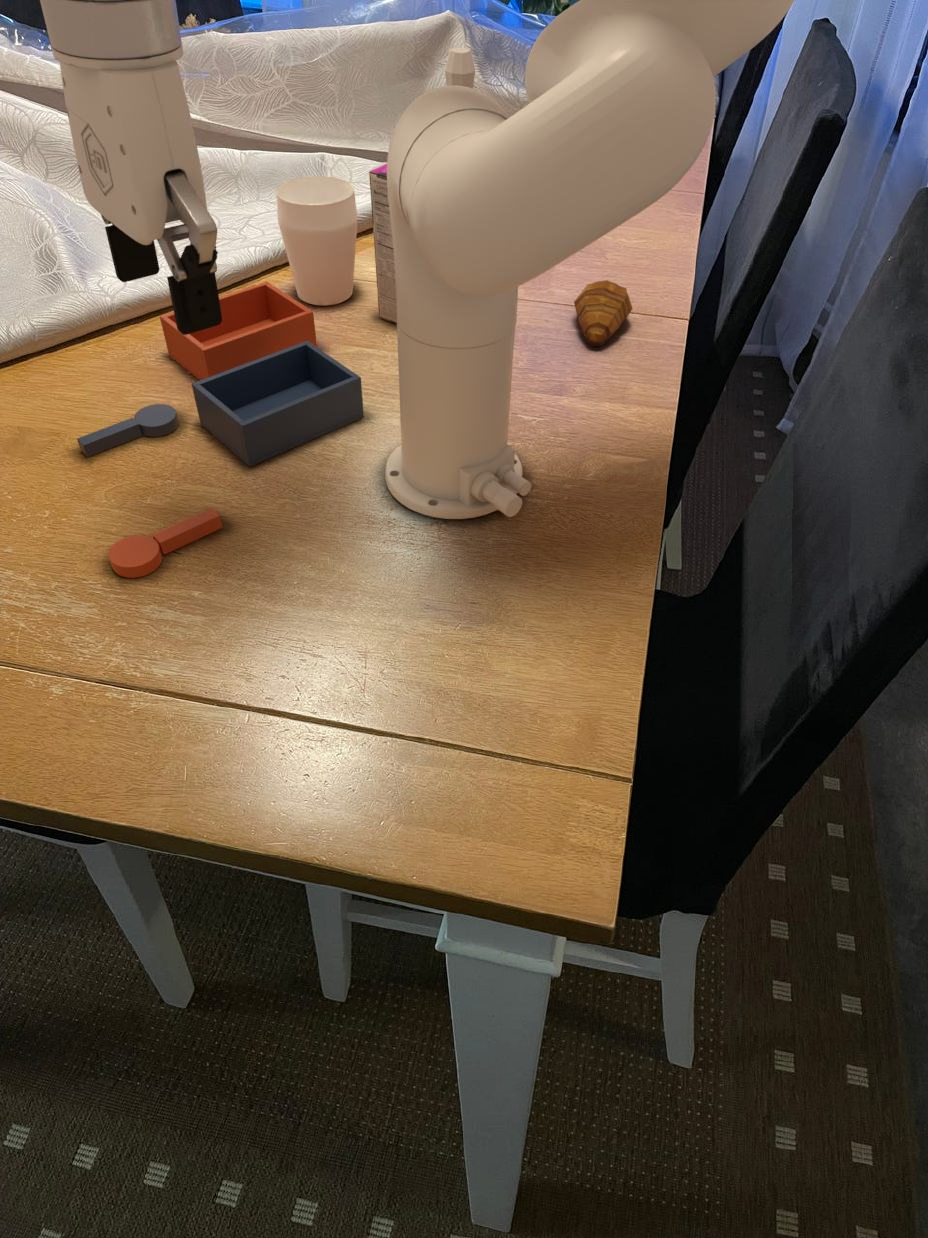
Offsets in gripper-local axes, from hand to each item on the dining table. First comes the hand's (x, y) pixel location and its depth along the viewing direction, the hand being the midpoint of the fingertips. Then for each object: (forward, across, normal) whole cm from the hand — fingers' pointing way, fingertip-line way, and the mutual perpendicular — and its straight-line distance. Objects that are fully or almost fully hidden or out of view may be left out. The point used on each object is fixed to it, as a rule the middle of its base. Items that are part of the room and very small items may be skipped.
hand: (168, 301), depth 64 cm
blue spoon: (+19, -14, 0) cm, 24 cm away
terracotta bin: (+19, -22, +16) cm, 33 cm away
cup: (+19, -28, +31) cm, 46 cm away
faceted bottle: (+18, -31, +54) cm, 64 cm away
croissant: (+18, -3, +52) cm, 55 cm away
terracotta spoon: (+19, +3, -6) cm, 20 cm away
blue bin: (+19, -8, +12) cm, 24 cm away
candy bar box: (+18, -18, +38) cm, 46 cm away
